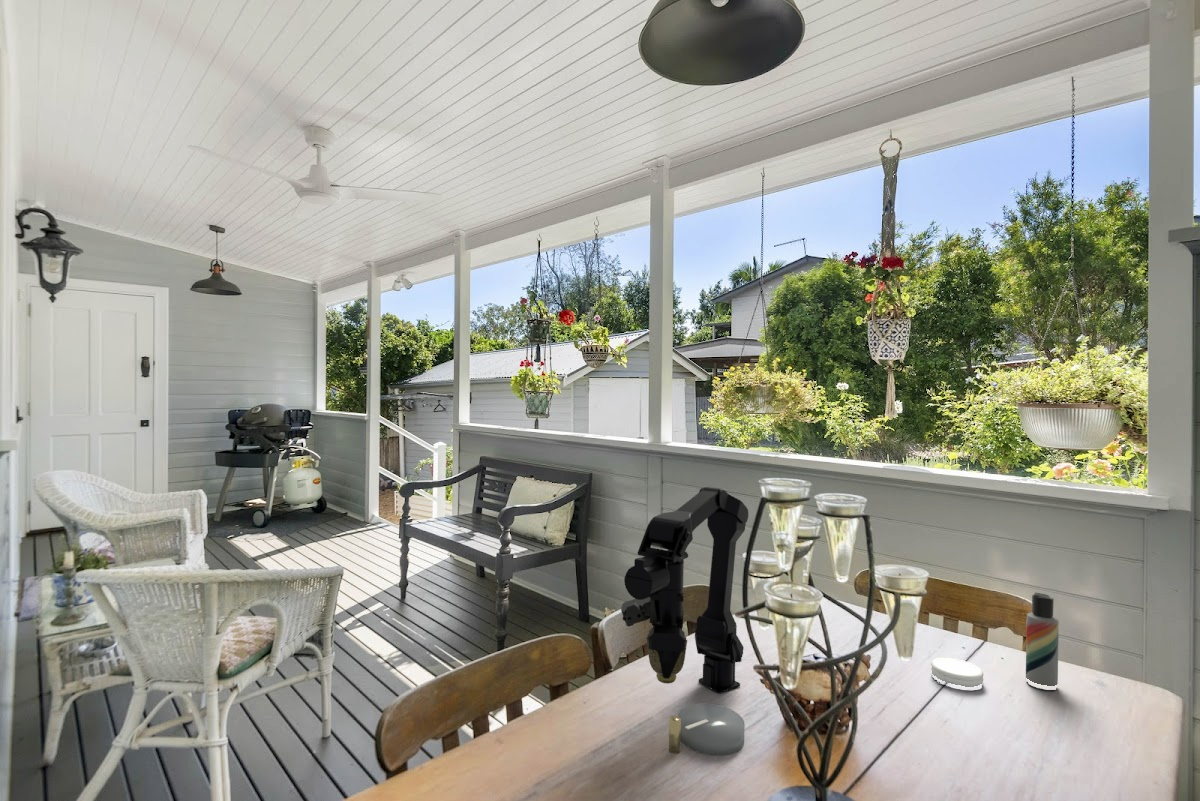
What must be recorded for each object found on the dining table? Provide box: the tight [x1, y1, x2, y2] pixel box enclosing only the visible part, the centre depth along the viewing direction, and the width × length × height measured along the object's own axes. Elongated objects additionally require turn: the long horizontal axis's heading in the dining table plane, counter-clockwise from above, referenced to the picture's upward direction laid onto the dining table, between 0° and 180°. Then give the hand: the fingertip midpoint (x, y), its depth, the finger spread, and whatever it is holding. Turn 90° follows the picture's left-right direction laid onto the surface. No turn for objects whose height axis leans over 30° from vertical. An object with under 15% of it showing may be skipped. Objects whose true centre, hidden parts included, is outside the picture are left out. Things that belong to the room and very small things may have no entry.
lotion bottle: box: [1025, 592, 1060, 686], centre depth 132 cm, size 6×6×20 cm
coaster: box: [930, 657, 984, 687], centre depth 134 cm, size 10×10×4 cm
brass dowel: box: [668, 715, 681, 755], centre depth 104 cm, size 2×2×6 cm
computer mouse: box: [676, 702, 746, 757], centre depth 109 cm, size 12×12×3 cm
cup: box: [646, 633, 688, 685], centre depth 112 cm, size 8×7×8 cm
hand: (666, 669), depth 112 cm, fingers closed on cup, 6 cm apart
